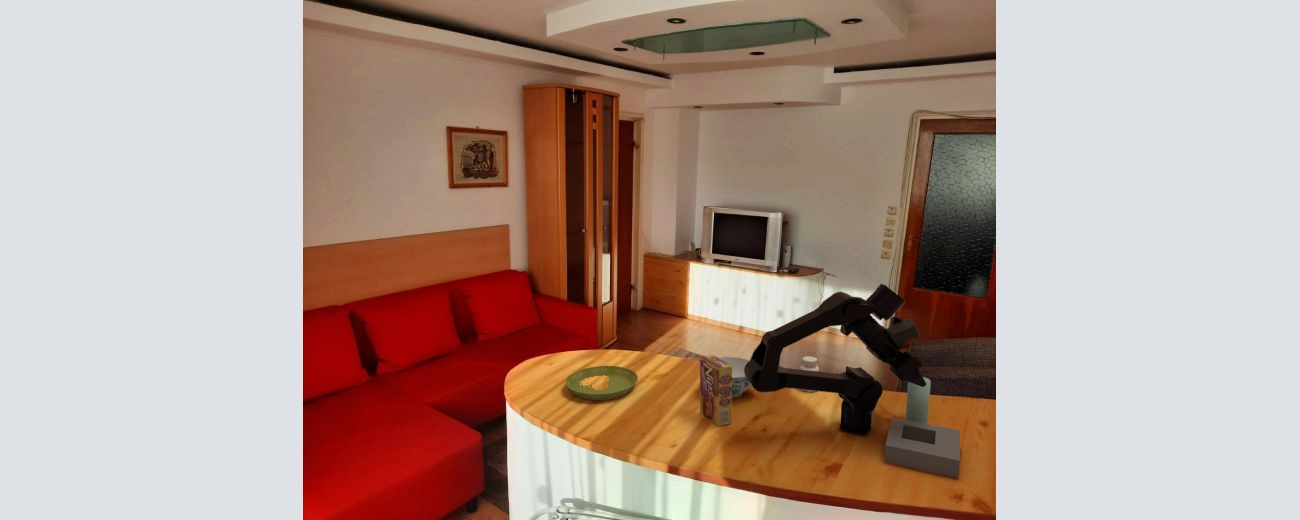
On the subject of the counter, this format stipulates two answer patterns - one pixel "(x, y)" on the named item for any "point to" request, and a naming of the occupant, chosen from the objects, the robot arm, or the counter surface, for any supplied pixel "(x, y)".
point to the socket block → (923, 447)
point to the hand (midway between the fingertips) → (915, 377)
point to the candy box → (715, 390)
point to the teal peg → (918, 402)
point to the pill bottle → (809, 366)
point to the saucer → (617, 386)
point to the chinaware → (737, 375)
